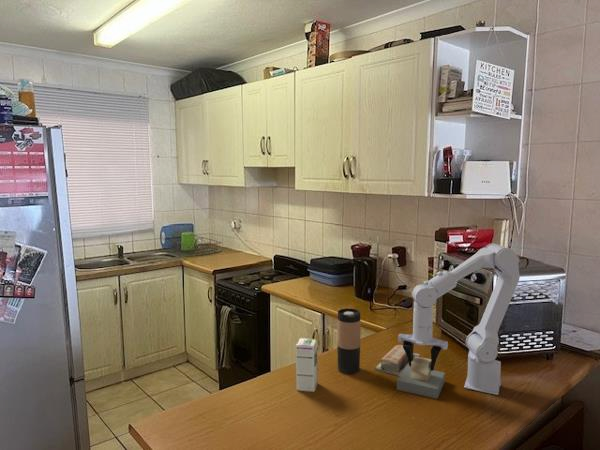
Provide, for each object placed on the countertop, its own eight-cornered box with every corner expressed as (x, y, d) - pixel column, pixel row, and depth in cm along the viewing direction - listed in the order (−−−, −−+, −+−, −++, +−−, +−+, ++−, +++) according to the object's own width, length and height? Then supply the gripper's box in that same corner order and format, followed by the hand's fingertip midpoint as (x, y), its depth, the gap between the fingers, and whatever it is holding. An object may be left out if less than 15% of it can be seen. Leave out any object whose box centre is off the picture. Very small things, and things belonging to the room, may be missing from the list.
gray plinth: (444, 381, 136) (445, 372, 135) (437, 398, 125) (437, 389, 125) (406, 373, 141) (406, 364, 141) (396, 389, 131) (396, 380, 130)
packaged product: (403, 364, 138) (374, 357, 144) (403, 378, 139) (374, 371, 144) (420, 345, 154) (393, 340, 159) (420, 358, 154) (393, 352, 159)
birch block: (431, 374, 134) (431, 359, 133) (427, 381, 129) (428, 365, 129) (415, 371, 136) (415, 356, 136) (410, 377, 132) (411, 362, 131)
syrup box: (314, 392, 129) (314, 345, 128) (295, 390, 131) (295, 344, 129) (317, 383, 135) (317, 338, 133) (299, 381, 136) (299, 337, 135)
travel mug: (345, 362, 150) (345, 306, 148) (364, 368, 145) (365, 311, 143) (332, 370, 144) (332, 312, 142) (352, 377, 139) (352, 317, 137)
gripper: (395, 324, 131) (394, 367, 132) (445, 332, 124) (443, 377, 126) (401, 318, 137) (400, 358, 139) (449, 325, 130) (447, 368, 132)
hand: (421, 367), depth 133 cm, fingers open, 6 cm apart
